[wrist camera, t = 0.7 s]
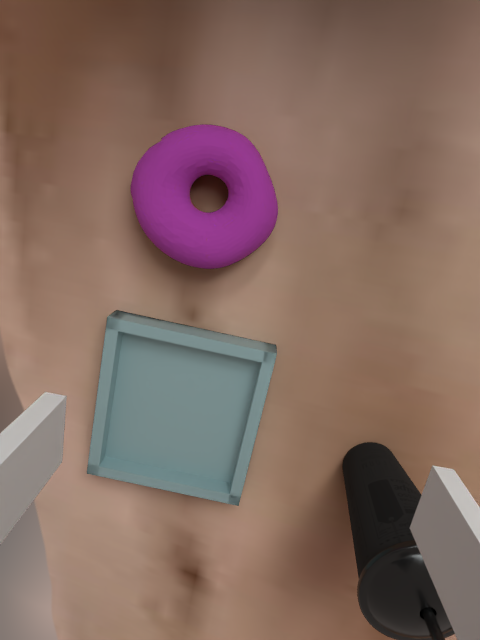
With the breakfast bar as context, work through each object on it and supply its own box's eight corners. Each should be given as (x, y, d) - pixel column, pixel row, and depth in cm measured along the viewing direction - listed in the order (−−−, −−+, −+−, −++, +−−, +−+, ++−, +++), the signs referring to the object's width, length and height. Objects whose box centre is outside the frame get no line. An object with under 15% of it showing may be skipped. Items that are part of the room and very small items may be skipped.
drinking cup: (312, 481, 41) (358, 736, 21) (351, 415, 39) (441, 630, 19) (384, 512, 41) (491, 787, 22) (426, 448, 39) (587, 691, 20)
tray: (116, 310, 37) (107, 316, 35) (275, 344, 37) (276, 353, 35) (95, 459, 41) (86, 473, 39) (239, 490, 41) (238, 505, 39)
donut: (293, 229, 35) (298, 234, 30) (184, 284, 36) (173, 296, 32) (234, 103, 32) (230, 89, 28) (120, 169, 34) (100, 165, 30)
